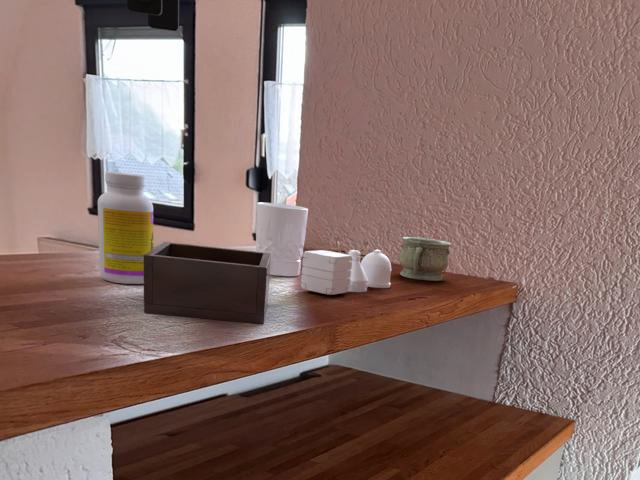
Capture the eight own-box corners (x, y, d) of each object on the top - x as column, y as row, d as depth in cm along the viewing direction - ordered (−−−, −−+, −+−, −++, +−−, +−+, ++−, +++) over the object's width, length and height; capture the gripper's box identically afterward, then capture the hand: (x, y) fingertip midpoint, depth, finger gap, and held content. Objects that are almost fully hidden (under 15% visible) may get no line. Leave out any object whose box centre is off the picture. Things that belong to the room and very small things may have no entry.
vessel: (438, 284, 123) (443, 245, 121) (388, 276, 125) (393, 238, 123) (452, 277, 134) (457, 241, 131) (406, 270, 136) (410, 234, 133)
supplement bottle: (161, 285, 94) (161, 178, 89) (109, 285, 90) (106, 173, 85) (143, 276, 99) (142, 173, 94) (93, 275, 95) (89, 168, 90)
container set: (331, 298, 99) (335, 256, 97) (299, 291, 101) (302, 250, 99) (395, 286, 116) (400, 250, 114) (366, 280, 118) (370, 245, 116)
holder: (143, 312, 78) (143, 254, 76) (163, 292, 90) (164, 241, 88) (263, 324, 80) (267, 267, 77) (268, 302, 91) (271, 253, 89)
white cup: (243, 271, 113) (246, 202, 109) (267, 267, 119) (271, 202, 115) (289, 279, 110) (294, 209, 106) (311, 274, 117) (316, 208, 113)
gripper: (133, -160, 76) (135, 30, 83) (87, -242, 60) (94, 0, 67) (206, -148, 77) (202, 39, 84) (179, -227, 61) (177, 11, 68)
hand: (154, 21), depth 75 cm, fingers open, 9 cm apart
